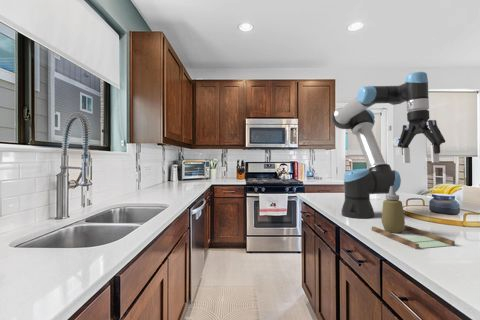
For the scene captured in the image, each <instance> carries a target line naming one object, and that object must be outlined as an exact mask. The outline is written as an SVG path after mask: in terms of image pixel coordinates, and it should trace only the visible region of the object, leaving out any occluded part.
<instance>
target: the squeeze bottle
mask: <svg viewBox="0 0 480 320" xmlns="http://www.w3.org/2000/svg"><path fill="white" fill-rule="evenodd" d="M405 223H406V221H405V214H404V207H403V201H401V200H400V195H399V194H397V193H396V192H395V189H394V186H390V190H389V194H386V195H385V199H384V200H383V201H382V212H381V224H382V226H383V230H385V231H387V232H390V233H392V234H398V233H399V234H400V233H402V232H403V230H404V229H403V227H404V225H406V224H405Z"/></svg>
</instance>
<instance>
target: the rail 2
mask: <svg viewBox="0 0 480 320" xmlns="http://www.w3.org/2000/svg"><path fill="white" fill-rule="evenodd" d="M403 230H405V231H408V232H411V233H414V234H417V235H420V236H425V237H428V238H431V239H434V240H437V241H440V242H442V243H445V244H448V245H450V247H452V246H453V247H454V246H456V243H455V242H456V241H455V240H453V239H450V238H447V237H444V236H440V235H438V234H434V233H431V232H428V231H425V230H423V229H420V228H417V227H412V226H411V225H407V224H404V227H403Z"/></svg>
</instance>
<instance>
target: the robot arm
mask: <svg viewBox="0 0 480 320" xmlns="http://www.w3.org/2000/svg"><path fill="white" fill-rule="evenodd" d="M404 79H405V81H404V83H403V84H399V85H367V86H362V87H360V89H359V91H357V92H358V93H357V96H355V98H353V99H352V100H350V101H349V102H348V103H347V104H345V105H344V106H343V107H339V108H337V109H336V110H335V111H334V112H333V113H332V115H331V122H332V124H333V125H334V126H335V127H336V128H337V129H340V130H351V133H352V135H354V136H356V138H357V142H358V144H359V146H360V149H361V153H362V155H363V158H364V160H365V164H366V167H367V168H356V169H351V170H347V171H345V173H344V175H343V176H344V177H343V183H344V184H343V185H344V188H343V189H344V201H343V203H342V208H341V215H342V216H344V217H346V218H352V219H370V218H374V217H375V210H374V208H373V206H372V203H371V197H370V195H380V194H381V195H385V194H386V195H389V190H390V186H394V189H395V193H396V192H398V191H399V190H400V188H401V187H400V186H401V183H402V182H401V181H402V180H401V179H402V178H401V174H400V172H398V171H397V170H395V169H392V168H391V165H390V164H388V163H386V161H385V159H384V156H383V154H382V152H381V149H380V147H379V145H378V142H377V140H376V137H375V135H374V132H373V128H374V126H375V123H376V118H375V114H374V113H373V111H372V110H371V109H368V108H370V107H372V106H373V105H376V104H389V105H392V106H395V105H401V104H403V103H405V102H406V112H407V113H406V116H407V117H406V119H407V122H408V124H407V125H406V124H403V125H402V130H401V134H400V137H399V140H398V143H397V147H398V148H401V154H402V159H403V161H402V162H403V164H411V153H410V152H411V151H410V150H411V149H410V148H411V147H409V145H410V144H411V142H412V141H413V140H414V137H416V135H419V134H423V135H424V136H425V137H426V138H427V140H428V141H429V142H430V143H431V145H430V156H431V157H430V159H431V163H432V164H433V163H440V154H441V145H443V144H445V143H446V139H445V137H444V135H443V134H442V132H441V130H440V128H439V127H438V124H437V120H436V119H430V118H431V117H430V110H429V109H430V101H429V79H428V73H427V72H425V71H417V72H416V71H415V72H411V73H409V74H407V75H406V76H405V78H404Z"/></svg>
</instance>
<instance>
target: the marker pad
mask: <svg viewBox="0 0 480 320" xmlns="http://www.w3.org/2000/svg"><path fill="white" fill-rule="evenodd" d="M404 238H405V239H407V240H410V241H412V242H415V243H417V244H419V249H420V248H421V249H429V248H430V249H431V247H433V248H443V247H442V246H444V247H451V245H448V244H445V243H442V242H440V241H437V240H434V239H431V238H428V237H425V236H422V235H420V236H412V237H410V236H409V237H404Z"/></svg>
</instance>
